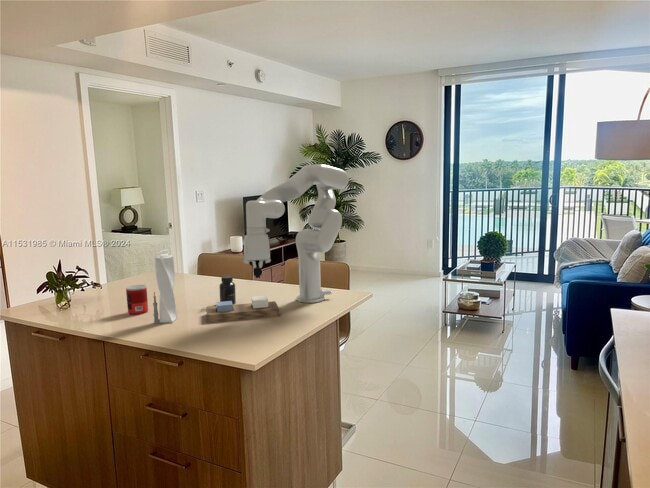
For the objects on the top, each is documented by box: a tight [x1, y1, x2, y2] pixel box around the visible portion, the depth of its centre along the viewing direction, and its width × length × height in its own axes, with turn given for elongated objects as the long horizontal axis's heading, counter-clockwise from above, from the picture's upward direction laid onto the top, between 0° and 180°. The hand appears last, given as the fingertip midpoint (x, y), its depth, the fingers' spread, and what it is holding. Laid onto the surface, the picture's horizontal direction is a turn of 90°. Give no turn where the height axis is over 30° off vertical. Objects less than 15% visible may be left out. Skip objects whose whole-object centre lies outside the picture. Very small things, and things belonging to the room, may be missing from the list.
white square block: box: [251, 295, 269, 308], centre depth 193 cm, size 6×6×3 cm
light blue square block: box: [216, 301, 234, 312], centre depth 190 cm, size 6×6×3 cm
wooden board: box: [206, 301, 281, 324], centre depth 192 cm, size 28×12×3 cm, turn 104°
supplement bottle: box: [218, 275, 237, 305], centre depth 209 cm, size 7×7×12 cm
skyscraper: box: [152, 249, 178, 325], centre depth 185 cm, size 8×8×28 cm
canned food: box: [125, 284, 149, 316], centre depth 199 cm, size 8×8×11 cm
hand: (257, 277), depth 191 cm, fingers closed
